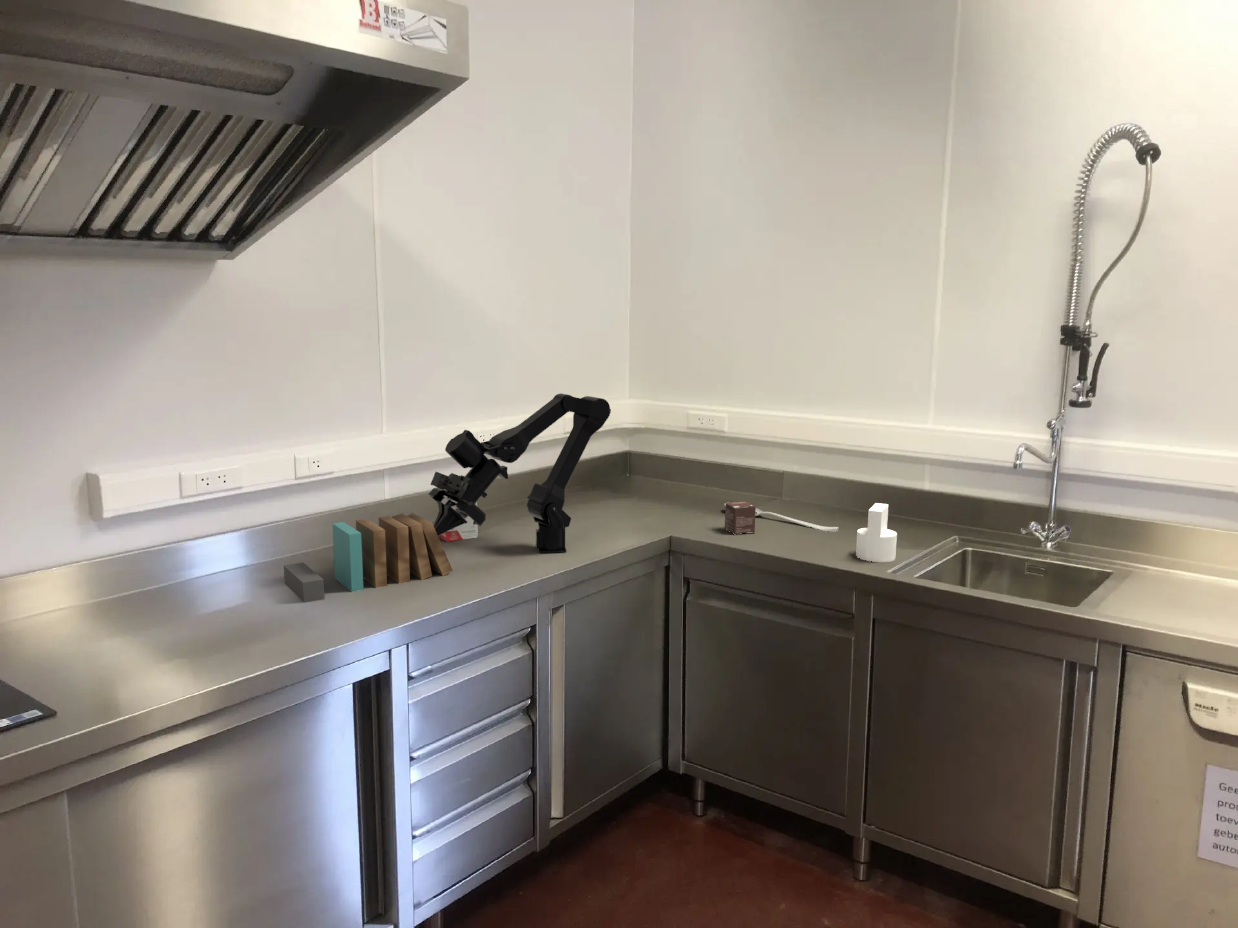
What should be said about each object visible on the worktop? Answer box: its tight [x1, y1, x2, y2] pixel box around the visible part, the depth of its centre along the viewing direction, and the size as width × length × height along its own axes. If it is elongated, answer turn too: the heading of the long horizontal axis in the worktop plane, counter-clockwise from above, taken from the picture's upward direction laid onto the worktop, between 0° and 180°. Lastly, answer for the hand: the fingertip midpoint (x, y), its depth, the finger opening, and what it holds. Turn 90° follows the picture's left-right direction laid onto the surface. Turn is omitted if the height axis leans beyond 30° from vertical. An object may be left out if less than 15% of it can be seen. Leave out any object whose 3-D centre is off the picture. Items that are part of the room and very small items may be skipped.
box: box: [724, 501, 757, 535], centre depth 235 cm, size 6×6×7 cm
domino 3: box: [378, 515, 411, 584], centre depth 194 cm, size 2×11×12 cm, turn 35°
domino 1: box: [332, 521, 364, 593], centre depth 188 cm, size 2×11×12 cm, turn 34°
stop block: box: [283, 562, 325, 603], centre depth 184 cm, size 4×14×4 cm, turn 35°
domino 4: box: [391, 513, 433, 580], centre depth 196 cm, size 2×11×12 cm, turn 35°
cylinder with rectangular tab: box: [855, 502, 898, 563], centre depth 213 cm, size 9×9×12 cm
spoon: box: [724, 502, 839, 533], centre depth 248 cm, size 35×8×3 cm, turn 50°
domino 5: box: [407, 512, 453, 577], centre depth 198 cm, size 2×11×12 cm, turn 34°
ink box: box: [438, 501, 479, 543], centre depth 226 cm, size 8×5×12 cm, turn 123°
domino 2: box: [355, 518, 388, 588], centre depth 191 cm, size 2×11×12 cm, turn 34°
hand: (432, 535), depth 199 cm, fingers closed
